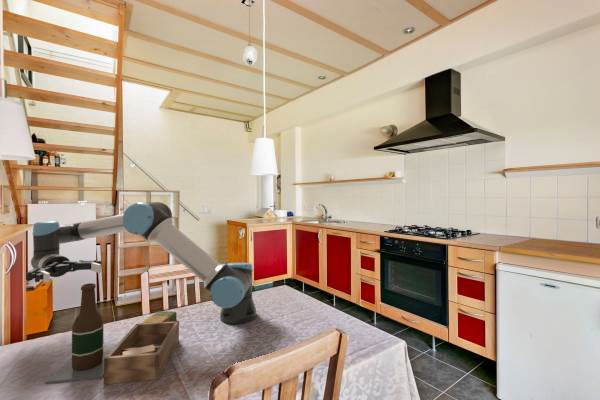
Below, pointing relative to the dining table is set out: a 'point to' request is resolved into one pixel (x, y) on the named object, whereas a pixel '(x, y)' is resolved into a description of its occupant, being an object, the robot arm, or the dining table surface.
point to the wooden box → (141, 365)
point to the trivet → (77, 372)
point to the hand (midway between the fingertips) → (75, 273)
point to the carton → (161, 317)
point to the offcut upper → (140, 350)
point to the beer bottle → (87, 332)
